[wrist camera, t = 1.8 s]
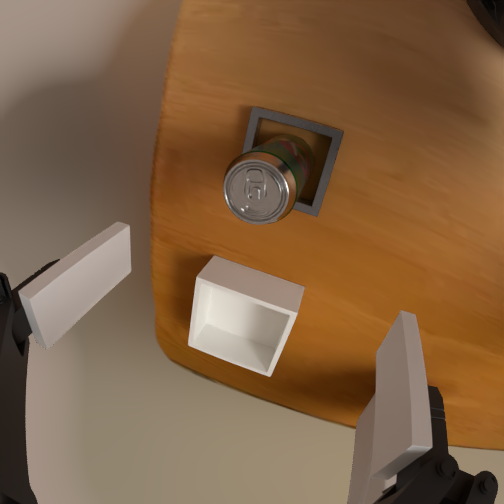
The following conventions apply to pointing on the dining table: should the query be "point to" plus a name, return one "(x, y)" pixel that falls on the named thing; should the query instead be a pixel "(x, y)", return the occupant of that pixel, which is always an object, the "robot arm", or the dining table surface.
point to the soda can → (268, 179)
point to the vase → (365, 462)
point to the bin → (242, 314)
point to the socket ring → (335, 133)
